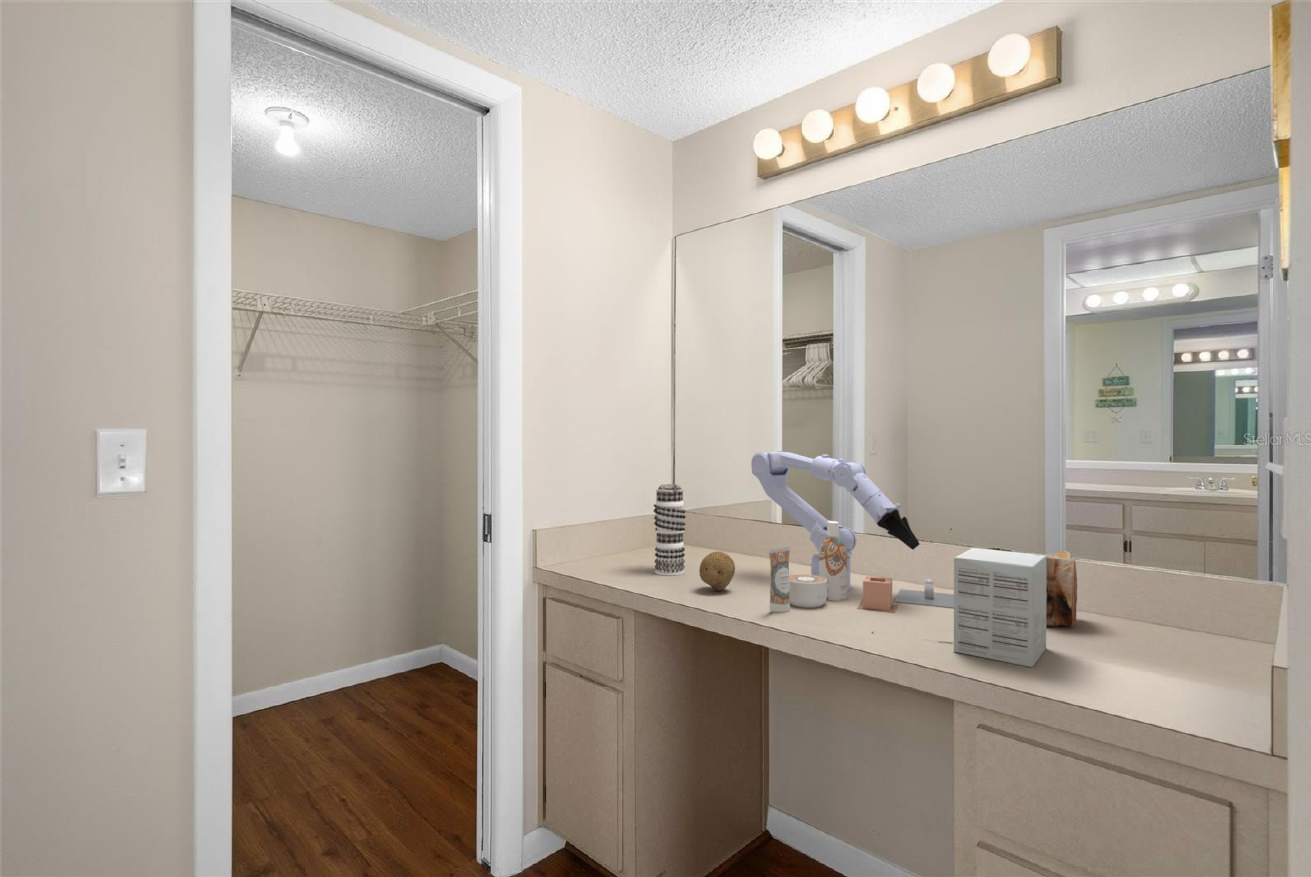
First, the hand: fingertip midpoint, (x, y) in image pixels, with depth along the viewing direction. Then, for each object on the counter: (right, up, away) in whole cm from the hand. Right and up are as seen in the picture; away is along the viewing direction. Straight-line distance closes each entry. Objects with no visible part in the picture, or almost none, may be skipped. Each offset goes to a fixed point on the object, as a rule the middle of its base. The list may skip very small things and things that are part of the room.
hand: (912, 544), depth 152 cm
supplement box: (+5, -15, -29) cm, 33 cm away
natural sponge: (-43, -15, +16) cm, 48 cm away
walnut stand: (-9, -15, -2) cm, 17 cm away
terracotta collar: (-9, -14, -2) cm, 16 cm away
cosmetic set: (-24, -15, +1) cm, 28 cm away
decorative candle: (-55, -14, +38) cm, 68 cm away
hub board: (+6, -15, +5) cm, 16 cm away
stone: (+25, -15, -13) cm, 32 cm away
